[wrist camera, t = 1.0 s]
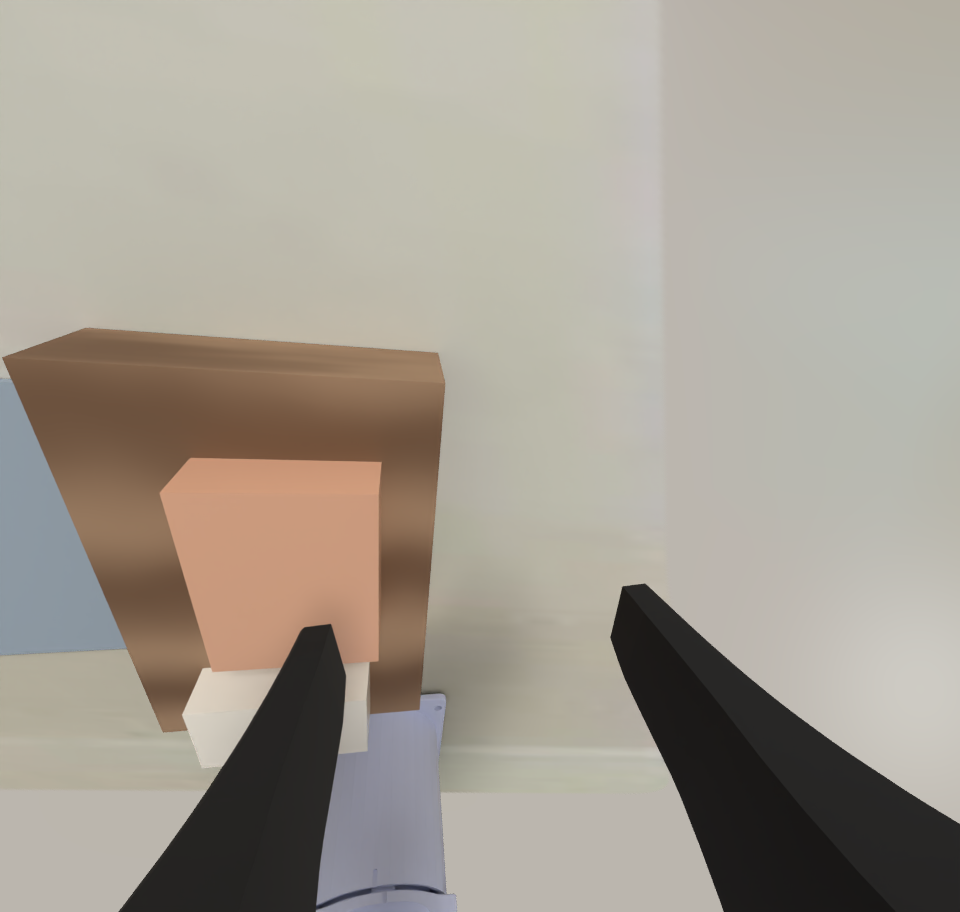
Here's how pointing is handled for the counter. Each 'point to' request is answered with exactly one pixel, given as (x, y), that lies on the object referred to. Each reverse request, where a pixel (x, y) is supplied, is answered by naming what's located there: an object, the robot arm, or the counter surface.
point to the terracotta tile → (278, 555)
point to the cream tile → (238, 695)
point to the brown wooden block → (231, 435)
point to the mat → (42, 553)
